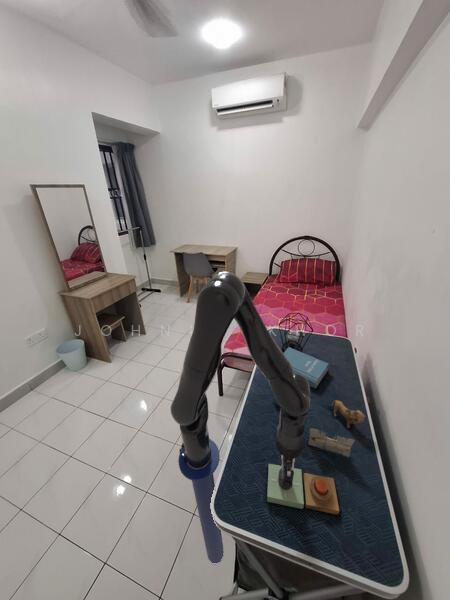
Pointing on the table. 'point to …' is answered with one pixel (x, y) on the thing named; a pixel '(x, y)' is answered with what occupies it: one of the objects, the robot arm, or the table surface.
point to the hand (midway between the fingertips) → (285, 468)
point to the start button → (321, 486)
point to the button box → (317, 500)
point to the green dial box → (282, 496)
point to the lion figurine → (348, 413)
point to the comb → (330, 442)
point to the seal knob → (281, 481)
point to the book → (307, 366)
